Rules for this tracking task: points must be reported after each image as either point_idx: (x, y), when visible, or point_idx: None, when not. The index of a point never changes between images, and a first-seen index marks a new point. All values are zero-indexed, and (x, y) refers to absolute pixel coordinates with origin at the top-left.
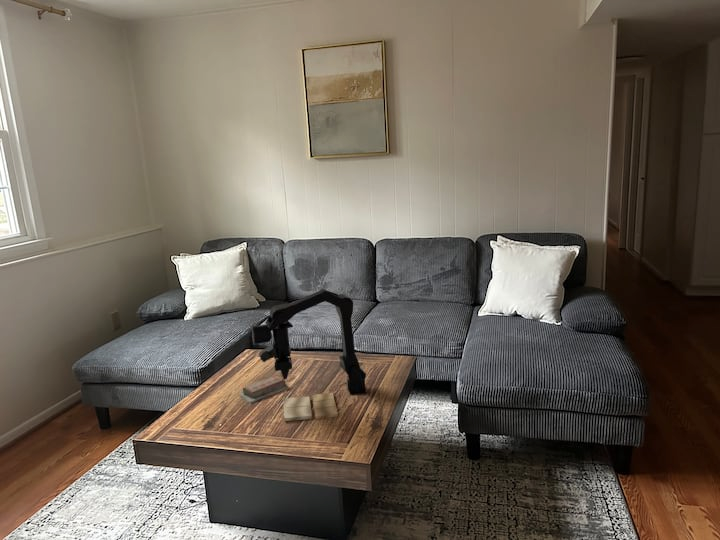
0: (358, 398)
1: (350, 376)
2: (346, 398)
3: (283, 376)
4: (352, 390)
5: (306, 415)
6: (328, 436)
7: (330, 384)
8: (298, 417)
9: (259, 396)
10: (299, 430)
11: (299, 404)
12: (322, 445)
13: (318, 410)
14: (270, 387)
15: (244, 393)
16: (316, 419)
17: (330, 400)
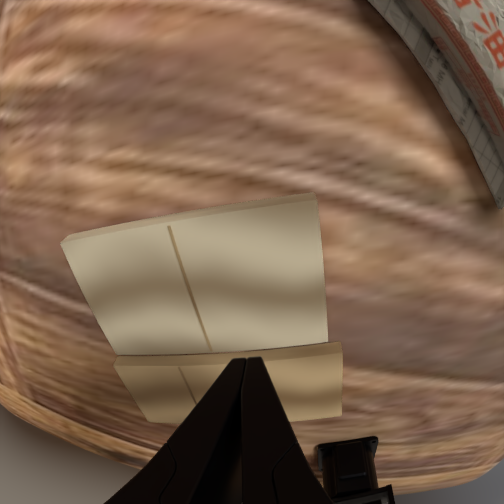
0: None
1: (358, 492)
2: None
3: (211, 392)
4: (331, 456)
5: (111, 336)
6: (39, 373)
7: (444, 384)
8: (91, 304)
9: (411, 18)
10: (37, 299)
11: (224, 305)
12: (3, 353)
13: (164, 378)
14: (485, 99)
15: None
16: (119, 357)
17: None
